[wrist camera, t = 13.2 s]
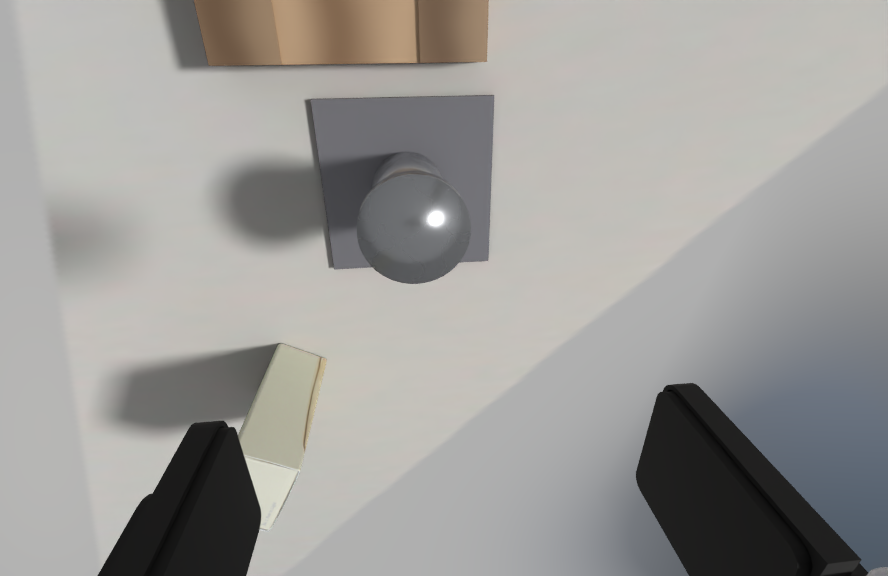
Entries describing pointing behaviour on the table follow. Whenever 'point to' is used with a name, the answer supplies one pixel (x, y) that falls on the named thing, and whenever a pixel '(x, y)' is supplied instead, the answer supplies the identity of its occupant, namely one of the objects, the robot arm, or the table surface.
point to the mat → (393, 131)
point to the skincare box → (280, 427)
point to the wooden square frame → (342, 31)
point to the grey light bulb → (412, 221)
